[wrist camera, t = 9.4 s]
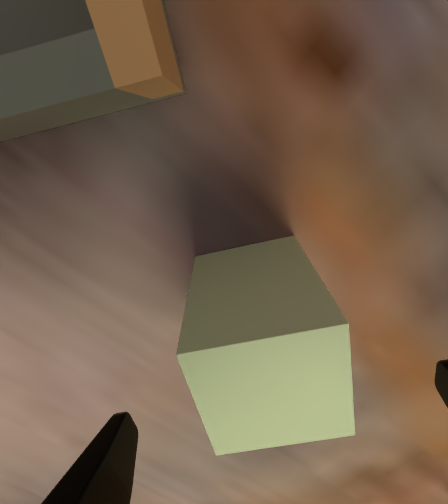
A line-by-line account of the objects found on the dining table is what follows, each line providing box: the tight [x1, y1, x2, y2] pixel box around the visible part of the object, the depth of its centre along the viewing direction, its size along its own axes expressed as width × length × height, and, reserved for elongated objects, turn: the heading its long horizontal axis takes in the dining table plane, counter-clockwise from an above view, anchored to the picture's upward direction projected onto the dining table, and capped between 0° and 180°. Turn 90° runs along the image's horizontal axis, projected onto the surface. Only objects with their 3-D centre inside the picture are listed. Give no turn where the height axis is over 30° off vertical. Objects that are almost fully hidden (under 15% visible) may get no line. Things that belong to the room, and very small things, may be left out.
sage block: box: [176, 236, 355, 455], centre depth 11 cm, size 4×4×6 cm
